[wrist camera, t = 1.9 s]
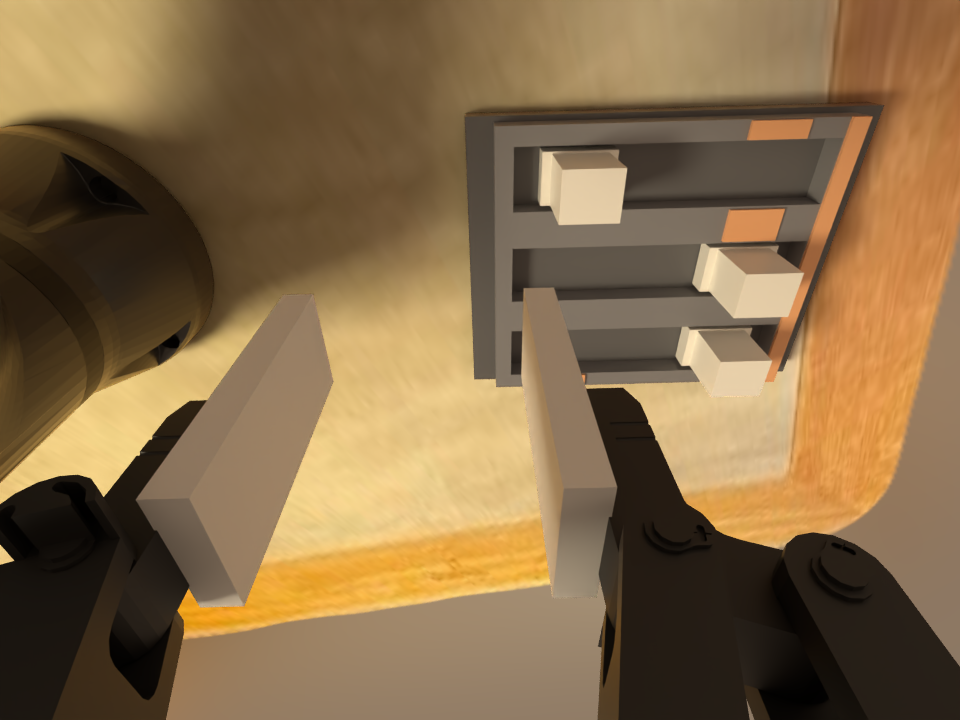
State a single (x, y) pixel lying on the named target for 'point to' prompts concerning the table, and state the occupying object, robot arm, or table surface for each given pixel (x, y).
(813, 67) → the table surface
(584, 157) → the tab front
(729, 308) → the tab mid
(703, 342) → the tab back
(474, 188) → the slotted block puzzle
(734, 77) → the table surface
